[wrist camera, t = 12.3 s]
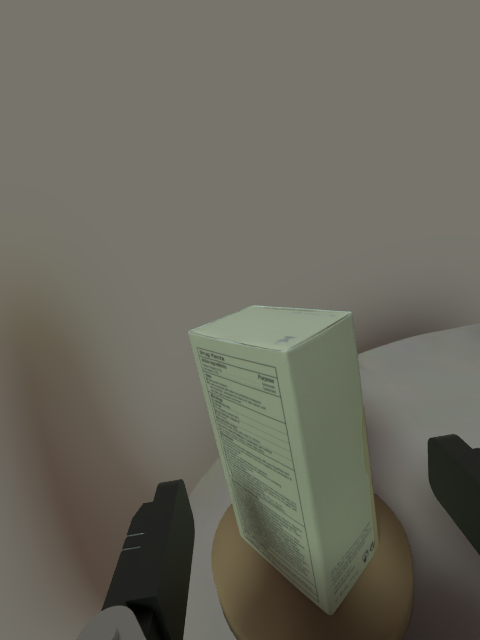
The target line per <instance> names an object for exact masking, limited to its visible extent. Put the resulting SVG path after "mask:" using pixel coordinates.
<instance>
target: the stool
mask: <svg viewBox="0 0 480 640" xmlns="http://www.w3.org/2000/svg"><path fill="white" fill-rule="evenodd" d="M373 494H374V493H373ZM374 502H375V512H376V520H377V529H378V538H379V547H378V549H377V551H376V552H375V554H374V556H373V557H372V559H371V560H370V562H369V563H368V565H367V567H366V568H365V569H364V571H363V573H362V574H361V575H360V577H359V578H358V580H357V581H356V583H355V584H354V586H353V587H352V589H351V590H350V591H349V593H348V594H347V596H346V597H345V598H344V600H343V601H342V603H341V604H340V605H339V607H338V608H337V609H336V611H335V613H334V614H333V615H328V614H327V613H325V612H324V611H323V610H322V609H321V608H320V607H318V606H317V605H316V604H315V603H314V602H313V601H311V600H310V599H309V598H308V597H307V596H305V595H304V594H303V593H302V592H301V591H300V590H299V589H297V588H296V587H295V586H294V585H293V584H292V583H291V582H290V581H289V580H287V579H286V578H285V577H284V576H283V575H282V574H281V573H280V572H279V571H278V570H276V569H275V568H274V567H273V566H272V565H271V564H270V563H269V562H267V561H266V560H265V559H264V558H263V557H262V556H261V555H260V554H259V553H258V552H257V551H256V550H255V549H253V548H252V546H251V545H249V544H248V543H247V542H246V541H245V540H244V539H243V538H242V537H241V535H240V533H239V529H238V525H237V521H236V517H235V513H234V509H233V505H232V504H231V505H230V506H229V508H228V509H227V511H226V512H225V513H224V515H223V517H222V519H221V521H220V523H219V525H218V528H217V530H216V533H215V537H214V541H213V548H212V570H213V576H214V581H215V585H216V589H217V592H218V596H219V600H220V604H221V607H222V610H223V614H224V616H225V619H226V621H227V623H228V625H229V627H230V629H231V631H232V632H233V634H234V636H235V637H236V639H237V640H403V638H404V635H405V633H406V631H407V629H408V627H409V623H410V619H411V615H412V611H413V602H414V589H413V566H412V555H411V550H410V545H409V542H408V540H407V537H406V534H405V532H404V530H403V528H402V526H401V524H400V522H399V520H398V519H397V517H396V516H395V514H394V513H393V512H392V510H391V509H390V508H389V507H388V506H387V505H386V503H385V502H383V501H382V500H381V499H380V498H379V497H378V496H377V495H376V494H374Z"/></svg>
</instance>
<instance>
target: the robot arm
mask: <svg viewBox="0 0 480 640" xmlns="http://www.w3.org/2000/svg"><path fill="white" fill-rule="evenodd" d="M428 475H429V482H430V486H431V488H432V491H433V493H434V495H435V497H436V498H437V500H438V501H439V502H440V504H441V505H442V506H443V508H444V509H445V510H446V511H447V513H448V514H449V515H450V517H451V518H452V519H453V521H454V522H455V523H456V525H457V526H458V527H459V529H460V530H461V531H462V532H463V534H464V535H465V536H466V538H467V539H468V540H469V542H470V543H471V544H472V546H473V547H474V548H475V549H476V551H477V552H478V553H479V555H480V448H475V449H472V448H471V447H470V446H469V445H468V444H466V443H465V442H464V441H463V440H462V439H461V438H460V437H459V436H457V435H455V434H451V435H445V436H439V437H433V438H429V440H428ZM194 537H195V528H194V519H193V514H192V510H191V507H190V503H189V499H188V495H187V492H186V488H185V484H184V481H183V480H182V479H180V480H174V481H169V482H163V483H159V484H158V486H157V490H156V493H155V497H154V501H153V502H149V503H143V505H142V506H141V507H140V509H139V510H138V512H137V513H136V514H135V516H134V517H133V519H132V521H131V525H130V527H129V530H128V533H127V538H126V539H125V542H124V545H123V551H122V552H121V554H120V557H119V560H118V563H117V567H116V569H115V572H114V575H113V578H112V581H111V584H110V587H109V590H108V593H107V596H106V599H105V602H104V605H103V608H102V610H101V612H100V613H98V614H97V615H96V616H95V617H93V618H92V619H91V620H90V621H89V622H88V623H87V624H86V625H85V627H84V628H83V630H82V631H81V632H80V634H79V636H78V637H77V640H183V635H184V626H185V617H186V608H187V599H188V590H189V582H190V573H191V564H192V555H193V546H194Z"/></svg>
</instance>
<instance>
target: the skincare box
mask: <svg viewBox="0 0 480 640" xmlns="http://www.w3.org/2000/svg"><path fill="white" fill-rule="evenodd" d="M188 334H189V338H190V342H191V346H192V349H193V353H194V357H195V361H196V365H197V369H198V373H199V377H200V381H201V384H202V388H203V392H204V396H205V400H206V404H207V408H208V412H209V416H210V420H211V423H212V427H213V431H214V435H215V439H216V443H217V447H218V451H219V454H220V458H221V462H222V466H223V470H224V474H225V478H226V482H227V485H228V489H229V493H230V497H231V501H232V505H233V509H234V513H235V517H236V521H237V525H238V529H239V533H240V535H241V537H242V538H243V539H244V540H245V541H246V542H247V543H248V544H249V545H251V546H252V548H253V549H255V550H256V551H257V552H258V553H259V554H260V555H261V556H262V557H263V558H264V559H265V560H266V561H267V562H269V563H270V564H271V565H272V566H273V567H274V568H275V569H276V570H278V571H279V572H280V573H281V574H282V575H283V576H284V577H285V578H286V579H287V580H289V581H290V582H291V583H292V584H293V585H294V586H295V587H296V588H297V589H299V590H300V591H301V592H302V593H303V594H304V595H305V596H307V597H308V598H309V599H310V600H311V601H313V602H314V603H315V604H316V605H317V606H318V607H320V608H321V609H322V610H323V611H324V612H325V613H327V614H328V615H333V614H334V613H335V611H336V609H337V608H338V607H339V605H340V604H341V603H342V601H343V600H344V598H345V597H346V596H347V594H348V593H349V591H350V590H351V589H352V587H353V586H354V584H355V583H356V581H357V580H358V578H359V577H360V575H361V574H362V573H363V571H364V569H365V568H366V567H367V565H368V563H369V562H370V560H371V559H372V557H373V556H374V554H375V552H376V551H377V549H378V547H379V538H378V529H377V520H376V512H375V502H374V494H373V485H372V476H371V467H370V458H369V450H368V441H367V432H366V423H365V414H364V406H363V398H362V389H361V381H360V372H359V363H358V355H357V348H356V340H355V331H354V323H353V315H352V312H346V311H345V312H342V311H330V310H329V311H328V310H313V309H297V308H281V307H265V306H251V307H247V308H245V309H242V310H240V311H238V312H235V313H233V314H231V315H228V316H226V317H223V318H221V319H218V320H215V321H212V322H210V323H208V324H205V325H203V326H201V327H198V328H195V329H193V330H190V331H189V332H188Z"/></svg>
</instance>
